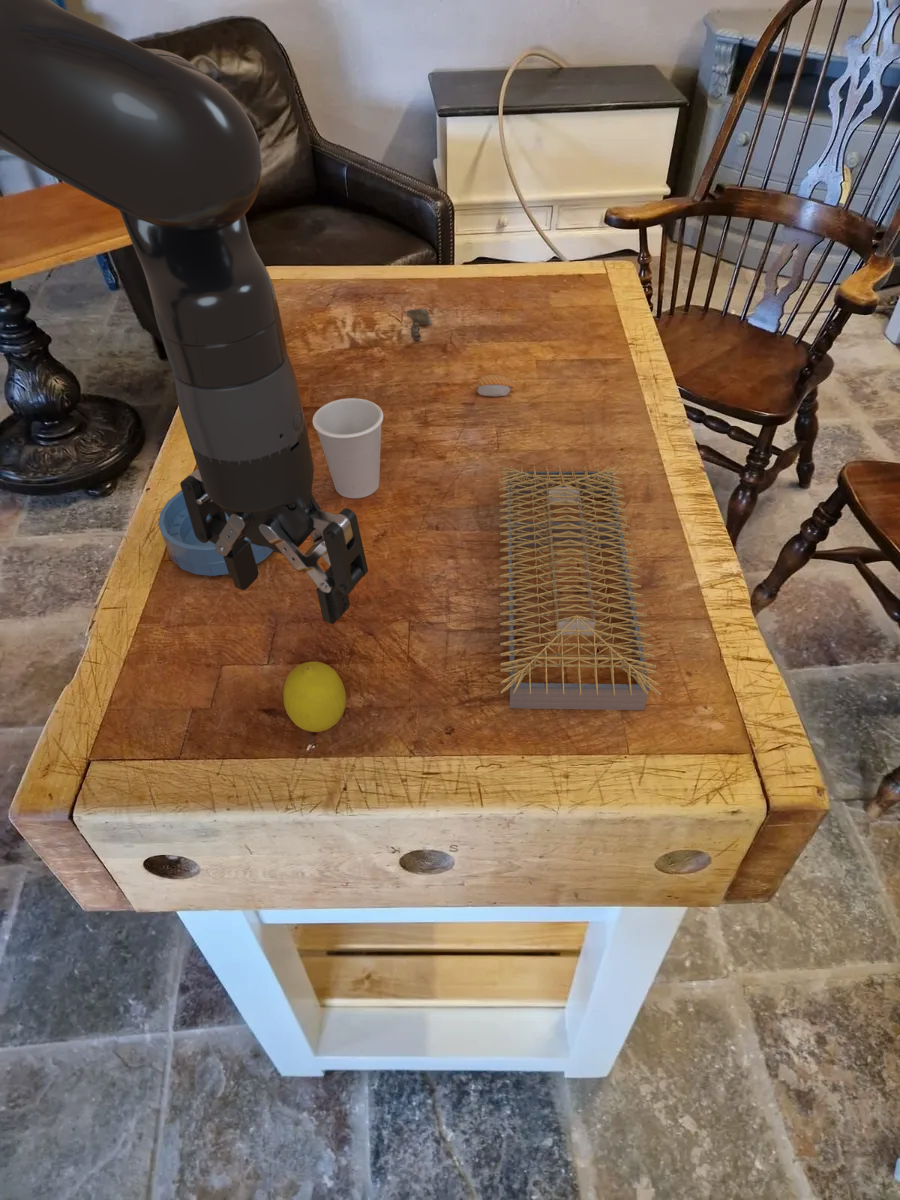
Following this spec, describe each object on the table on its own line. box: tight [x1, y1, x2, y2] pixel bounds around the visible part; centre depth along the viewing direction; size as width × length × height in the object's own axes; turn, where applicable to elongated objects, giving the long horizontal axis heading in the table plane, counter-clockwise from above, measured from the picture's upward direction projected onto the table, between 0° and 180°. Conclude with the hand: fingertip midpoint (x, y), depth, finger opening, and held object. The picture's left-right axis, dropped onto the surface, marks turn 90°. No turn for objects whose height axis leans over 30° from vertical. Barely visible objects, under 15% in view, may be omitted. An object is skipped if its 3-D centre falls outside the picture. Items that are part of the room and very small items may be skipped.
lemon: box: [282, 661, 347, 733], centre depth 72 cm, size 6×6×8 cm
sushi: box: [469, 373, 516, 397], centre depth 115 cm, size 3×6×3 cm, turn 88°
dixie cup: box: [312, 397, 384, 499], centre depth 98 cm, size 8×8×10 cm
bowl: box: [157, 489, 275, 577], centre depth 92 cm, size 13×13×4 cm
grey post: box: [406, 308, 433, 342], centre depth 131 cm, size 12×1×5 cm
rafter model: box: [499, 465, 662, 711], centre depth 85 cm, size 35×14×6 cm, turn 178°
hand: (290, 599), depth 63 cm, fingers open, 8 cm apart
